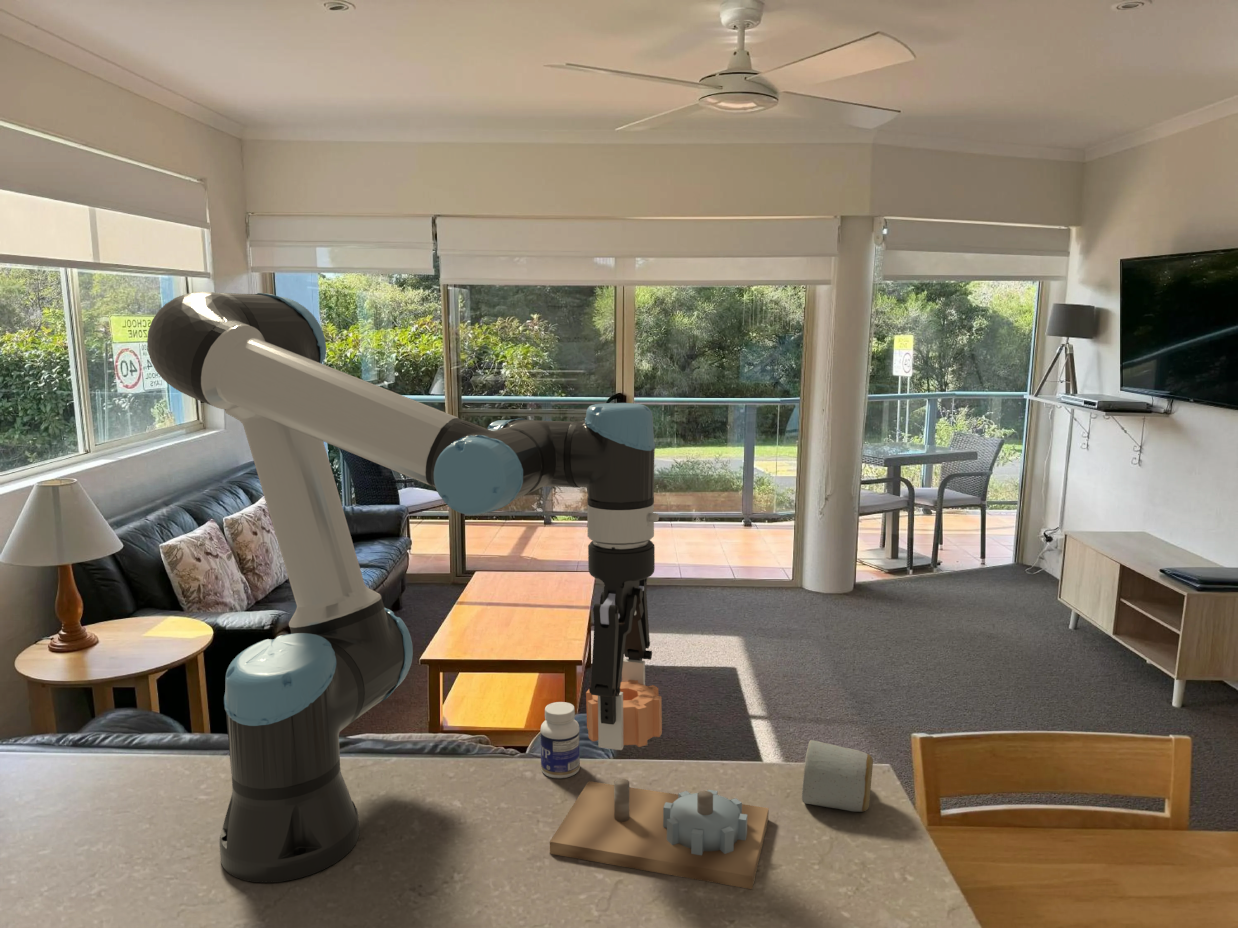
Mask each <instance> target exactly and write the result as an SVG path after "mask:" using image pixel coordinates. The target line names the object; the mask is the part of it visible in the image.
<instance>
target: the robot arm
mask: <svg viewBox="0 0 1238 928" xmlns="http://www.w3.org/2000/svg"><path fill="white" fill-rule="evenodd" d="M147 331H148V332H147V339H146V341H147V342H146V343H147V345H146V346H147V352H148V356H149V359H150V362H151V364H152V366H153V367H154V370H155V371H156V373H157V374H158V375H159V377H161V379H162V380H163V381H164V382H165V383H167V384H168V386H171V387H172V388H173V389H174V390H176V391H178V392H180V393H182V394H185V395H186V396H189V397H190V398H193V399H195V400H197V401H200V402H202V403H204V404H207V405H209V406H212V407H214V408H217V409H220V410H224V412H225V414H227V415H229V416H230V417H233V418H234V419H236V421H237V420H238V421H239V422H240V423H241V424H242V427H243V429H244V432H245V436H246V440H247V442H248V446H249V448H250V453H251V456H252V460H253V462H254V467H255V469H256V470H255V471H256V473H257V476H258V479H259V482H260V487H261V489H262V493H263V497H264V499H265V504H266V506H267V509H268V512H269V513H268V514H269V516H270V521H271V523H272V526H273V531H274V534H275V537H276V541H277V545H278V547H279V551H280V554H281V558H282V560H283V564H284V567H285V570H286V574H287V577H288V581H289V584H290V588H291V591H292V594H293V598H294V600H295V604H296V608H295V611H294V613H293V614H292V617H291V618H290V620H289V622H288V627H289V629H290V633H288V634H282V635H277V636H276V637H275V638H274V639H271V638H270V639H269V638H267V639H263V640H260V641H258V642H256V643H254V644H252V645H250V646H248V647H247V648H245V649H244V650H242V651H241V652H240V653H238V654H237V655H236V656H235V658H233V659H232V661H231V662H230V664H229V665H228V667H227V669H226V672H225V677H224V678H225V680H224V681H225V684H224V685H225V690H224V691H225V692H224V696H223V706H224V710H225V716H226V729H227V739H228V740H227V741H228V750H229V752H228V753H229V761H230V762H229V763H230V774H231V787H232V788H231V789H232V791H231V795H230V800H229V803H228V806H227V809H226V810H227V811H226V813H225V816H224V817H225V818H224V820H223V821H224V822H223V824H222V828H221V832H220V835H219V841H218V842H219V856H220V857H219V859H220V863H221V866H222V867H223V869H224V870H225V871H226V872H227V873H228V875H229V874H230V876H233V877H235V878H237V879H240V880H242V881H243V880H244V881H246V882H252V883H255V882H256V883H279V882H287V881H292V880H296V879H297V880H298V879H301V878H303V877H307V876H308V877H309V876H310V875H314V874H317V873H318V872H320V871H321V872H322V871H323V870H326V869H328V868H329V867H331V866H332V865H334V864H336V863H337V862H339V861H341V860H342V859H343V858H344V857H345V856H347V855H348V854H349V853H350V852H351V851H352V850H353V849H354V847H355V845H356V844H357V842H358V839H359V837H360V819H359V817H360V816H359V812H358V808H357V806H356V805H355V803H354V801H353V800H352V797H351V795H350V792H349V790H348V787H347V784H346V782H345V779H344V777H343V774H342V771H341V770H342V769H341V758H340V757H341V754H340V752H341V751H340V738H339V736H340V732H341V731H342V730H344V729H345V728H347V727H348V726H350V725H351V724H352V723H353V722H355V720H357V719H358V718H360V717H361V716H363V715H364V714H365V713H367V712H368V711H369V710H371V709H372V708H373V707H375V706H376V705H378V704H380V703H382V702H383V701H385V700H387V699H388V697H390V696H391V695H392V693H394V692H395V690H396V689H397V687H398V686H400V685H401V684H402V683H403V681H404V680H405V679H406V678H407V675H408V673H409V671H410V668H411V665H412V661H413V652H414V651H413V648H414V647H413V642H412V636H411V634H410V631H409V629H408V627H407V625H406V624H405V622H404V621H403V619H402V618H401V617H399V616H396V615H395V612H394V611H392V610H391V609H389V608H386V607H385V605H384V601H383V599H382V598H383V597H382V595H381V593H378V592H376V591H375V590H373V589H372V588H370V587H368V586H367V585H366V583H365V581H364V577H363V573H362V571H361V566H360V564H359V560H358V557H357V554H356V550H355V546H354V543H353V539H352V536H351V535H352V534H351V532H350V528H349V525H348V522H347V519H346V515H345V511H344V509H343V505H342V501H341V498H340V495H339V491H338V487H337V483H336V481H335V477H334V473H333V471H332V467H331V463H330V460H329V455H328V453H327V450H326V447H325V445H326V444H325V443H327V444H329V445H330V446H334V447H336V448H339V449H340V450H344V451H345V452H348V453H351V454H353V455H356V456H358V457H361V458H363V459H365V460H368V461H370V462H371V463H375V464H377V465H380V466H382V467H385V468H387V469H390V470H392V471H394V472H397V473H399V474H401V475H404V476H406V477H409V478H410V479H411V478H412V479H413V480H415V481H416V480H417V481H418V482H420V483H423V484H426V485H427V486H431V487H434V488H435V489H436V492H437V494H438V495H439V497H440V498H441V499H442V500H443V502H444V503H445V504H446V505H447V507H449V508H450V509H451V510H453V511H454V512H457V513H460V514H464V515H468V516H475V515H482V514H484V513H492V512H495V511H497V510H499V509H502V508H504V507H506V506H509V504H511V503H512V502H513V501H515V500H517V499H520V498H521V497H523V496H526V495H528V494H530V493H532V492H534V491H536V490H538V489H540V488H543V487H544V488H545V487H551V488H553V487H554V488H558V487H559V488H560V487H561V488H562V487H563V488H565V487H566V488H573V489H574V488H577V489H579V488H585V489H586V492H587V513H586V514H587V515H586V516H587V518H586V519H587V527H586V528H587V538H588V539H589V540H590V541H591V542H590V543H589V544H588V545H587V549H588V550H587V553H588V554H587V556H588V557H587V560H588V564H587V565H588V572H589V575H590V576H591V577H592V578H594V579H597V580H600V581H601V582H602V583H603V592H601V594H600V597H599V598H600V600H599V603H595V604H594V605H593V609H592V612H593V643H592V660H591V661H592V662H591V678H590V680H591V682H590V687H588V690H589V692H590V693H591V695H597V696H598V740H597V741H598V743H597V744H598V748H602V749H608V750H609V749H610V750H614V751H615V750H616V751H623V749H624V746H625V745H624V744H623V692H620V685H621V682H628V681H629V680H638V683H639V684H643V685H646V661H645V660H650V661H651V660H652V657H653V651H652V650H649V648H650V647H651V641H650V640H651V639H650V628H649V627H650V626H649V625H650V624H649V613H648V598H647V591H648V590H647V589H648V585H647V583H648V578H650V577H652V576H653V574H654V573H655V567H656V566H655V555H656V554H655V544H654V542H653V541H651V540H652V538H653V539H654V536H655V523H656V522H658V521H659V519H660V515H659V514H658V513H656V512H654V509H655V504H654V503H655V496H654V495H655V453H656V451H655V450H656V443H655V433H654V419H653V418H654V417H653V412H652V410H651V409H650V408H649V407H648V406H646V405H645V404H641V403H635V402H634V403H633V402H615V403H613V402H612V403H611V402H610V403H609V402H606V403H605V402H604V403H595V404H591V405H589V406H588V407H587V409H586V411H585V412H586V413H585V417H584V420H580V421H579V420H578V421H565V420H564V421H563V420H562V421H561V420H555V421H554V420H536V419H535V420H534V419H532V420H531V419H525V418H518V417H517V418H514V419H505V420H504V419H503V420H502V419H501V420H500V419H499V420H495V421H492V422H491V423H489V425H488V426H487V428H485V427H483V426H480V425H477V424H475V423H473V422H470V421H467V420H464V419H462V418H459V417H458V416H455V415H454V414H453V415H452V414H451V413H447V412H445V411H442V410H440V409H438V408H435V407H433V406H429V405H427V404H424V403H423V402H420V401H417V400H414V399H412V398H409V397H408V396H404V395H402V394H399V393H397V392H394V391H392V390H389V389H386V388H384V387H381V386H379V385H376V384H374V383H372V382H369V381H367V380H363V379H361V378H358V377H357V376H353V375H351V374H349V373H346V372H343V371H341V370H339V369H336V368H333V367H331V366H328V365H325V364H323V361H325V360H326V357H327V344H326V343H327V342H326V337H325V334H324V331H323V329H322V326H321V324H320V322H319V321H318V320H317V318H316V317H315V316H314V314H313V313H312V312H310V310H309V309H308V308H306V307H305V306H304V305H303V304H301V303H299V302H298V301H296V300H294V299H291V298H288V297H283V296H278V295H276V294H271V293H266V292H265V293H264V292H263V293H262V292H258V293H231V292H216V291H215V292H214V291H194V292H189V293H185V294H182V295H179V296H177V297H175V298H173V299H171V300H170V301H168V302H167V303H165V304H164V305H163V306H162V307H161V308H160V309H159V310H158V311H157V313H155V315H154V317H153V319H152V320H151V323H150V326H149V328H148V330H147ZM627 658H628V659H627Z"/></svg>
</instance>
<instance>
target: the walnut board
mask: <svg viewBox="0 0 1238 928" xmlns="http://www.w3.org/2000/svg"><path fill="white" fill-rule="evenodd" d="M613 782H614V783H613V784H612V783H611V784H610V783H603V782H596V781H589V780H588V781H587V783H586V784H585V786H584V787H583V789H582V791H581V792H580V793H579V795H578V797H577V798H576V800H575V801H574V803H573V804H572V806H571V808H570V809H569V811H568V812H567V814H566V815H565V817H564V819H563V821H561V823H560V825H559V826H558V828H557V829H556V831H555V832H554V834H553V836H552V838H550V841H549V854H550V855H555V856H561V857H566V858H571V859H577V860H578V859H579V860H583V861H589V862H593V863H594V862H596V863H600V864H607V865H613V866H617V867H623V868H630V869H634V870H640V871H646V872H652V873H658V874H663V875H667V876H668V875H670V876H675V877H681V878H685V879H692V880H697V881H703V882H708V883H709V882H710V883H714V884H721V885H726V886H730V887H731V886H732V887H737V888H743V889H749V890H753V887H754V883H755V879H756V874H757V871H758V867H759V862H760V858H761V853H762V848H763V845H764V841H765V840H764V839H765V836H766V835H765V834H766V831H767V828H768V823H769V809H770V808H769V807H764V806H759V805H758V806H757V805H750V804H743V803H742V814H746V815H747V837H746V840H739V839H738V840H737V841H736V843H735V844H734V851H732V852H729V853H726V854H724V853H723V852H722V851H721V850H718V851H703V854H702V855H696V854H691V849H690V848H687V847H685V846H683V845H681V844H679V843H678V844H675V845H672V844H671V843H669V842H668V841H667V828H664V827H663V807H664V805H665V803H666V802H668V803H673V802H674V801H676V800H677V799H678V793H671V792H663V791H657V790H650V789H643V788H636V787H632V786H631V787H630V781H629V780H628V779H626V778H617V779H615V780H614V781H613ZM697 793H698V794H697V812H698V813H699V814H701V815H710V814H712V813H713V794H712V793H711V792H709V791H707V790H702V791H701V790H700V791H698V792H697Z"/></svg>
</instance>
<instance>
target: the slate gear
mask: <svg viewBox="0 0 1238 928" xmlns="http://www.w3.org/2000/svg"><path fill="white" fill-rule="evenodd" d="M706 791H709V792H711V793H712V794H713V813H712V814H710V815H701V814H699V813H698V812H697V794H698V793H699V792H695V793H691V792H689V791H688V790H684V791H682V792H678V793H677V794H678V799H677V800H676V801H674V802H673V803H668V802H666V803H665V805H664V807H663V827H664V828H667V841H668V842H669V843H671V844H672V845H675V844H678V843H679V844H681V845H683V846H685V847H687V848H690V849H691V854H696V855H702V854H703V851H718V850H721V851H722V852H723V853H724V854H726V853H729V852H732V851H734V844H735V843H736V841H737V840H738V839H739V840H746V837H747V815H746V814H742V804H743V803H742V801H740V800H739V799H738V798H732V799H729V798H728V797H725V796H722V795H720V794H718V790H713V789H707V790H706Z"/></svg>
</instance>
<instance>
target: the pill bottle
mask: <svg viewBox="0 0 1238 928" xmlns="http://www.w3.org/2000/svg"><path fill="white" fill-rule="evenodd" d="M575 711H576V710H575V706H574V704H572V703H570V702H565V701H556V702H555V701H554V702H551V703H548V704H547V705H546V706H545V708H544V719H545V720H544V721H543V722H542V723H541V725H540V730H539V731H540V733H539V734H540V735H539V736H540V769H541V772H542V773H543V774H544V775H545V776H547V777H548V778H553V779H566V778H570V777H572V776H574V775H575V774H577V773H578V772H579V771H580V765H581V763H580V761H581V759H580V757H581V756H580V725H579V722H578V721H577V720H576V719H575V716H576V712H575Z"/></svg>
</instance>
